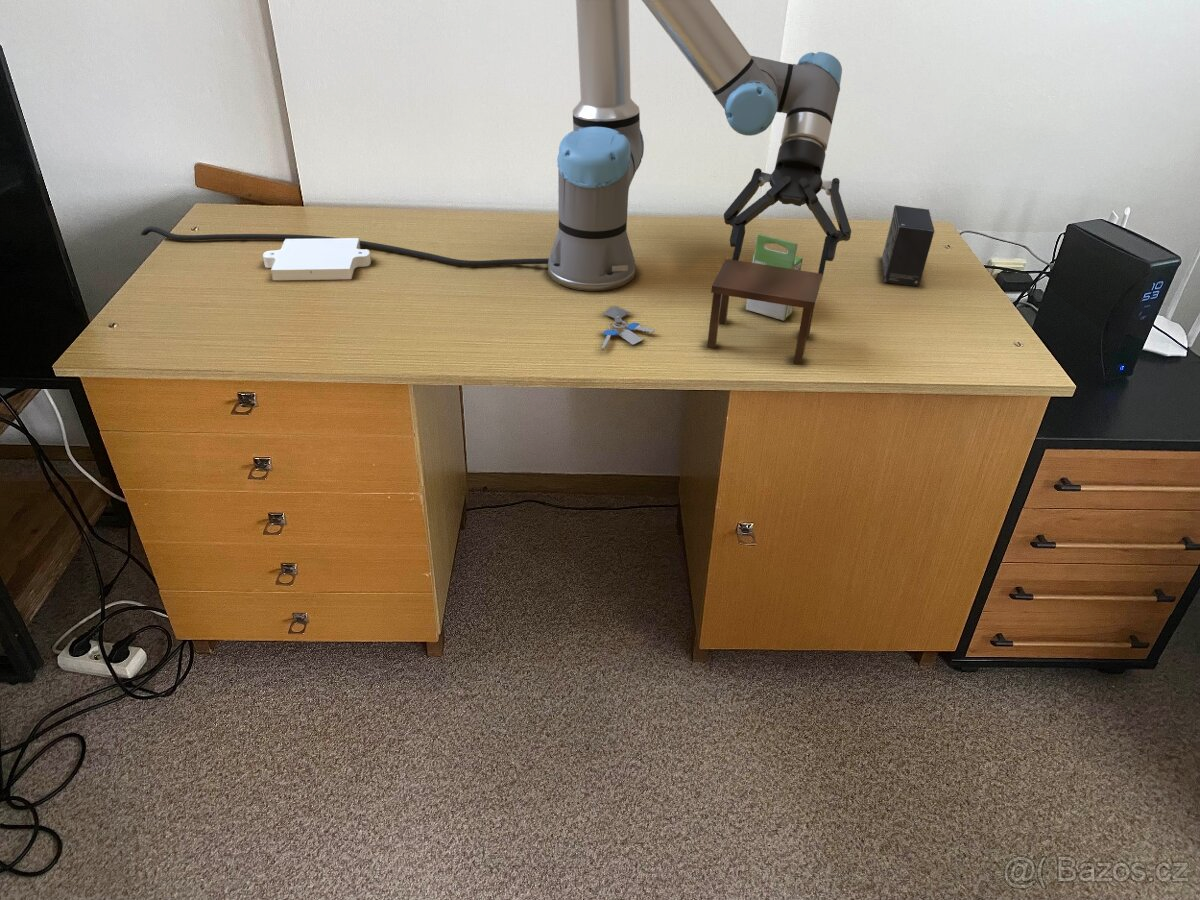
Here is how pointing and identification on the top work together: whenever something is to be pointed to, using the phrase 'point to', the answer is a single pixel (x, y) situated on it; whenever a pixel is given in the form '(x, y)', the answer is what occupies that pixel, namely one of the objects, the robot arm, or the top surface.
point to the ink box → (777, 260)
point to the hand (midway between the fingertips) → (776, 272)
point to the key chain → (626, 334)
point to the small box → (907, 245)
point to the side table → (764, 294)
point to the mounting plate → (316, 259)
